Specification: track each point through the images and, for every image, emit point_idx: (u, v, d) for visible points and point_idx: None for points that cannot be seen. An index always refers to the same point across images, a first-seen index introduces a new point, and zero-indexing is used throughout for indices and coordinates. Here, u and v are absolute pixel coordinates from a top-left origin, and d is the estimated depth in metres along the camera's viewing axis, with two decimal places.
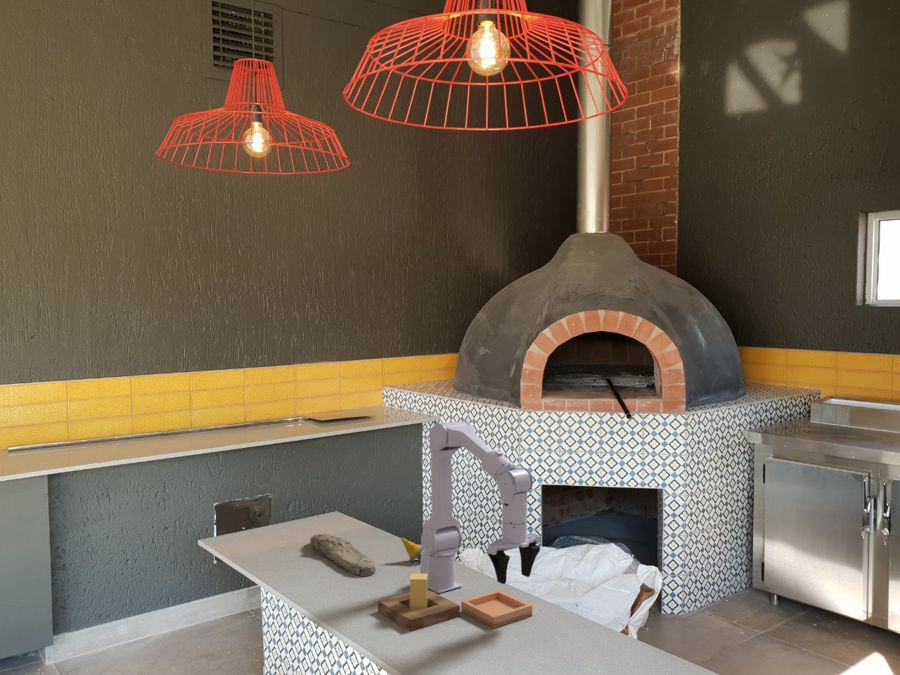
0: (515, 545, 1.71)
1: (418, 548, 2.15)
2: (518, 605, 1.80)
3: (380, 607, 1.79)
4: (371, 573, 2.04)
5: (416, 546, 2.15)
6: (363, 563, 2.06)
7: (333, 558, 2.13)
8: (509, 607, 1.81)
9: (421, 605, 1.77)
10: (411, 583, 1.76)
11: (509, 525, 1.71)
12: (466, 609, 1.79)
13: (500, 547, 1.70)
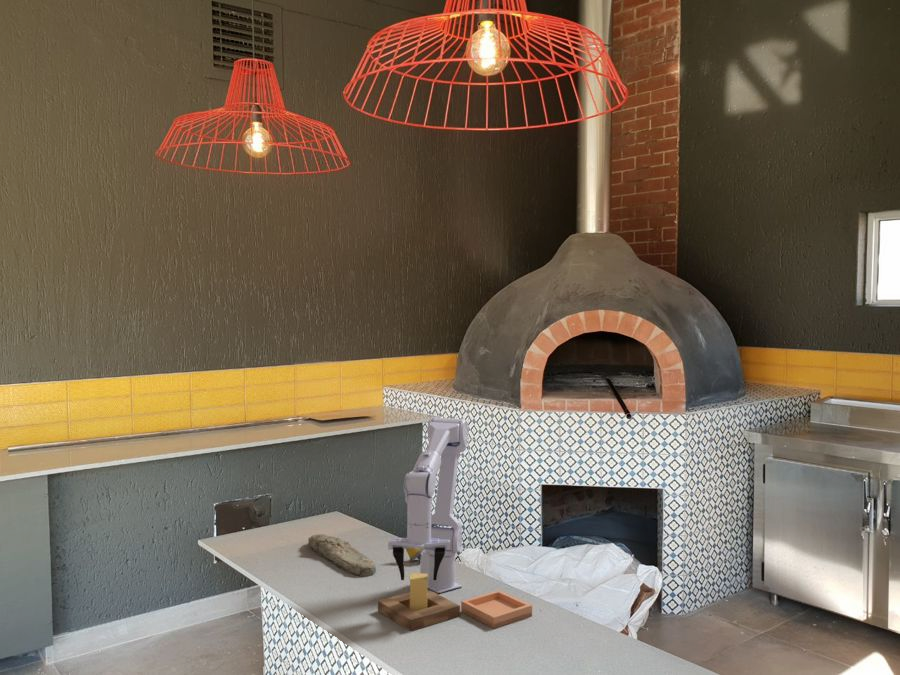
0: (410, 545, 1.76)
1: None
2: (518, 605, 1.80)
3: (380, 607, 1.79)
4: (372, 573, 2.04)
5: None
6: (363, 563, 2.06)
7: (333, 558, 2.13)
8: (509, 607, 1.81)
9: (421, 605, 1.77)
10: (411, 583, 1.77)
11: (408, 524, 1.77)
12: (466, 609, 1.79)
13: (396, 543, 1.77)
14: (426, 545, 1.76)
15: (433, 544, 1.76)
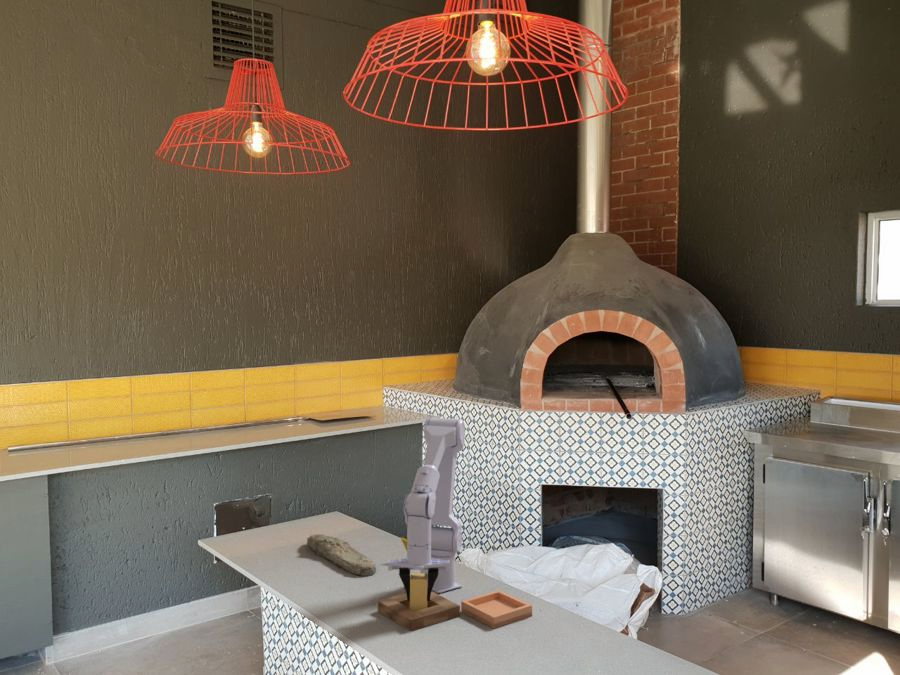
0: (410, 566, 1.76)
1: None
2: (518, 605, 1.80)
3: (380, 607, 1.79)
4: (372, 573, 2.04)
5: None
6: (364, 563, 2.06)
7: (332, 558, 2.13)
8: (509, 607, 1.81)
9: (421, 605, 1.77)
10: (411, 583, 1.76)
11: (408, 545, 1.77)
12: (466, 609, 1.79)
13: (395, 564, 1.77)
14: (426, 566, 1.76)
15: (433, 565, 1.76)
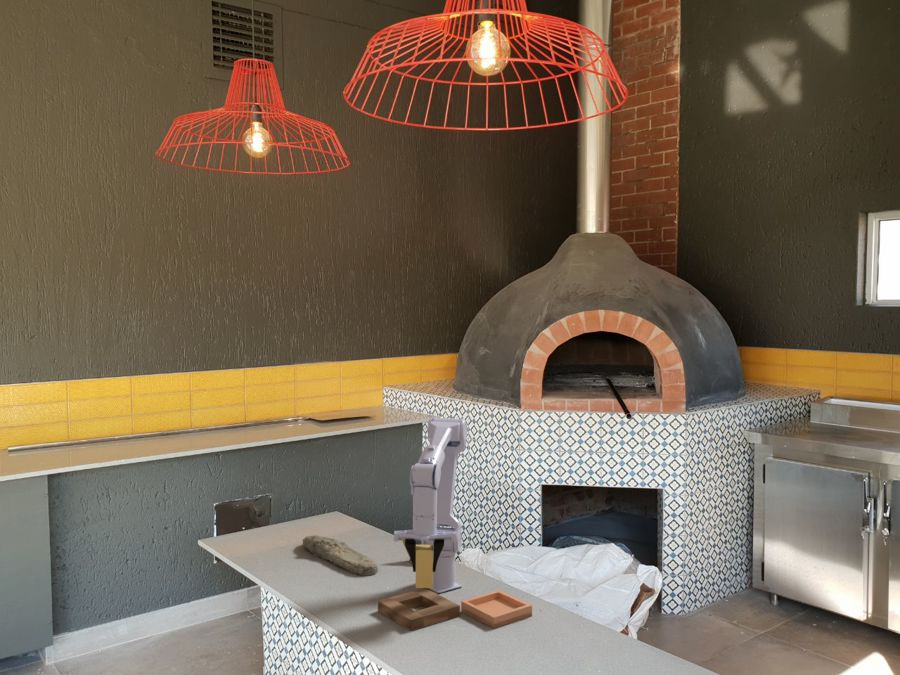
0: (416, 536, 1.76)
1: None
2: (518, 605, 1.80)
3: (380, 607, 1.79)
4: (374, 572, 2.05)
5: None
6: (365, 563, 2.06)
7: (332, 559, 2.12)
8: (509, 607, 1.81)
9: (427, 576, 1.77)
10: (417, 554, 1.76)
11: (413, 516, 1.77)
12: (466, 609, 1.79)
13: (401, 535, 1.77)
14: (432, 537, 1.76)
15: (439, 536, 1.76)
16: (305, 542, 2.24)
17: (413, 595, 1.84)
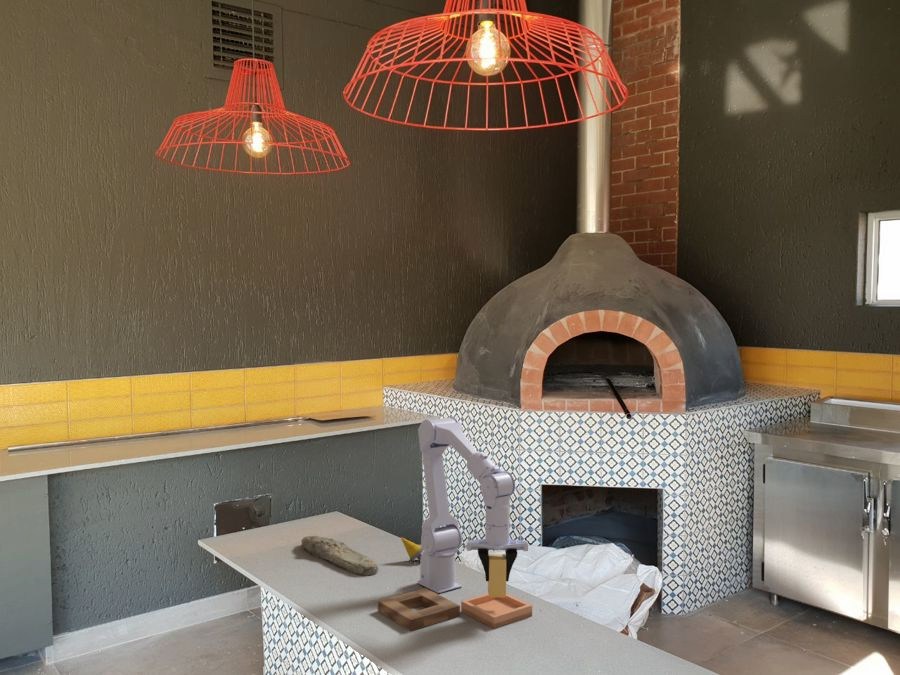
0: (489, 546, 1.76)
1: (418, 548, 2.15)
2: (518, 605, 1.80)
3: (380, 607, 1.79)
4: (374, 572, 2.05)
5: (416, 546, 2.15)
6: (366, 563, 2.06)
7: (332, 559, 2.12)
8: (509, 607, 1.81)
9: (501, 586, 1.77)
10: (490, 563, 1.77)
11: (486, 526, 1.77)
12: (466, 609, 1.79)
13: (474, 545, 1.77)
14: (505, 546, 1.76)
15: (512, 545, 1.77)
16: (304, 542, 2.24)
17: (413, 595, 1.84)
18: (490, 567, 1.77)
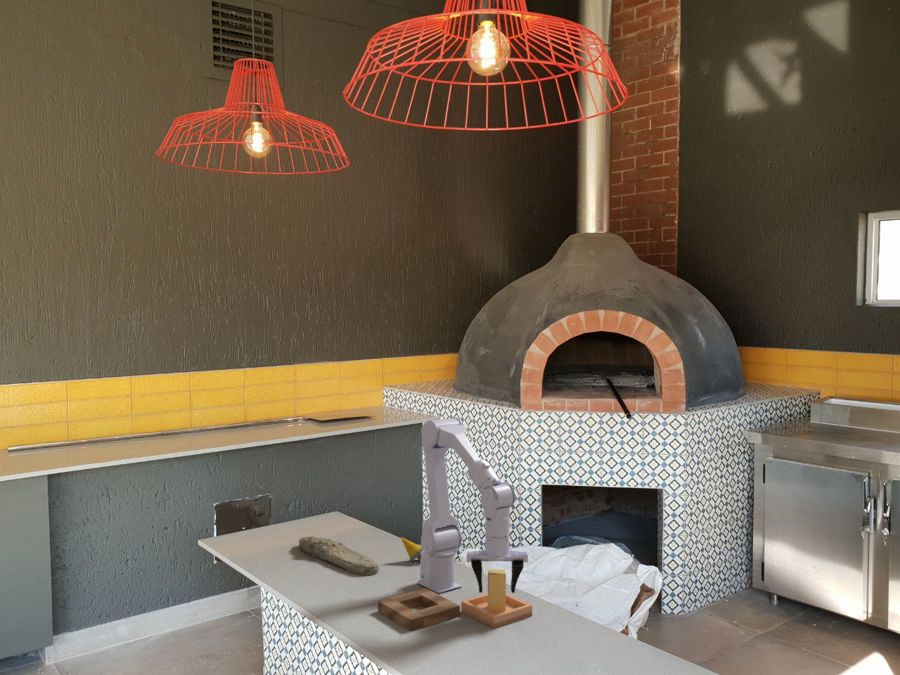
0: (489, 557, 1.76)
1: (418, 548, 2.15)
2: (518, 605, 1.80)
3: (380, 607, 1.79)
4: (375, 572, 2.05)
5: (416, 546, 2.15)
6: (366, 562, 2.07)
7: (331, 559, 2.12)
8: (509, 607, 1.81)
9: (500, 601, 1.77)
10: (490, 579, 1.77)
11: (486, 537, 1.77)
12: (466, 609, 1.79)
13: (474, 556, 1.77)
14: (505, 558, 1.76)
15: (512, 557, 1.77)
16: (302, 543, 2.23)
17: (413, 595, 1.84)
18: (490, 583, 1.77)
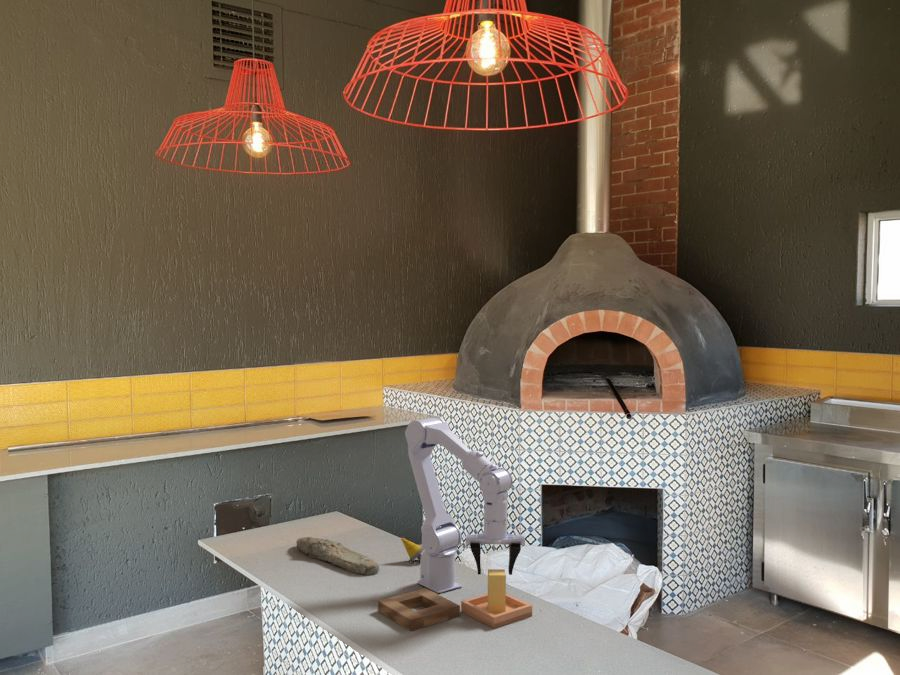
0: (487, 540, 1.82)
1: (418, 548, 2.15)
2: (518, 605, 1.80)
3: (380, 607, 1.79)
4: (376, 571, 2.06)
5: (416, 546, 2.15)
6: (367, 562, 2.07)
7: (331, 560, 2.12)
8: (509, 607, 1.81)
9: (500, 601, 1.77)
10: (490, 579, 1.77)
11: (485, 521, 1.84)
12: (466, 609, 1.79)
13: (473, 539, 1.84)
14: (503, 541, 1.82)
15: (509, 540, 1.83)
16: (300, 544, 2.22)
17: (413, 595, 1.84)
18: (490, 583, 1.77)
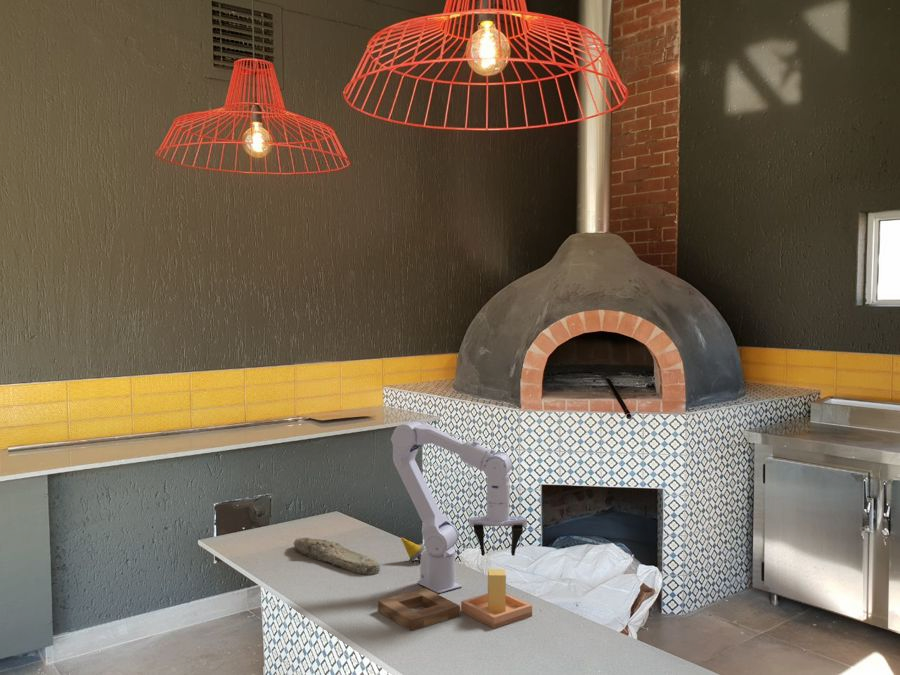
0: (491, 522, 1.88)
1: (418, 548, 2.15)
2: (518, 605, 1.80)
3: (380, 607, 1.79)
4: (377, 571, 2.06)
5: (416, 546, 2.15)
6: (368, 562, 2.07)
7: (331, 560, 2.12)
8: (509, 607, 1.81)
9: (500, 601, 1.77)
10: (490, 579, 1.77)
11: (488, 503, 1.89)
12: (466, 609, 1.79)
13: (477, 521, 1.89)
14: (506, 522, 1.88)
15: (512, 521, 1.89)
16: (298, 545, 2.21)
17: (413, 595, 1.84)
18: (490, 583, 1.77)
